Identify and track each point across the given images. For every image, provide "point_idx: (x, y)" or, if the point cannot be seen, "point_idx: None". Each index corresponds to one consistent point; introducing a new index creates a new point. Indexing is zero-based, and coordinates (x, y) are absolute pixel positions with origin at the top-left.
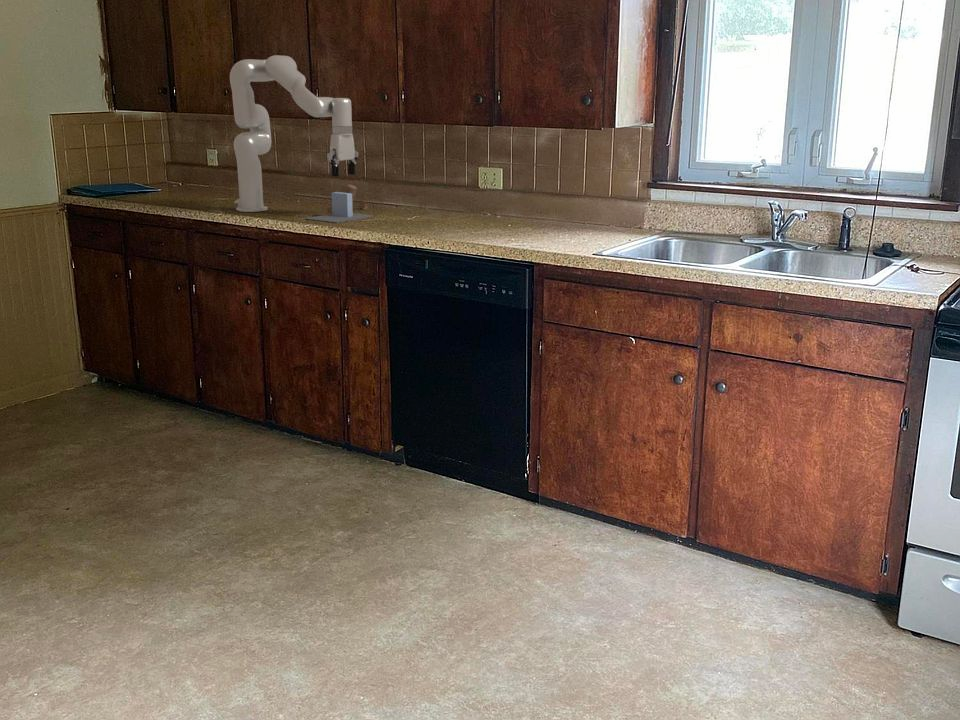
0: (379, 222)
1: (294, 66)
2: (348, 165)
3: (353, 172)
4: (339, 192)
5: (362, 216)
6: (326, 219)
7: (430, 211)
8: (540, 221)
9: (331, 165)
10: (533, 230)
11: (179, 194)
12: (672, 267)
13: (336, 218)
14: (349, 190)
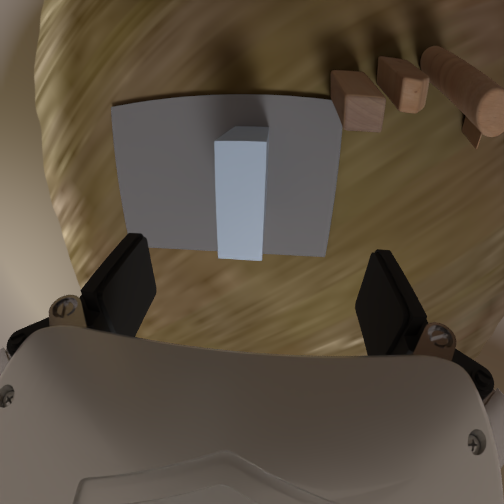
0: (229, 324)
1: None
2: (398, 313)
3: (360, 313)
4: (255, 175)
5: (281, 242)
6: (140, 185)
7: (465, 313)
8: None
9: (67, 307)
10: None
11: None
12: None
13: (179, 196)
14: (467, 102)
